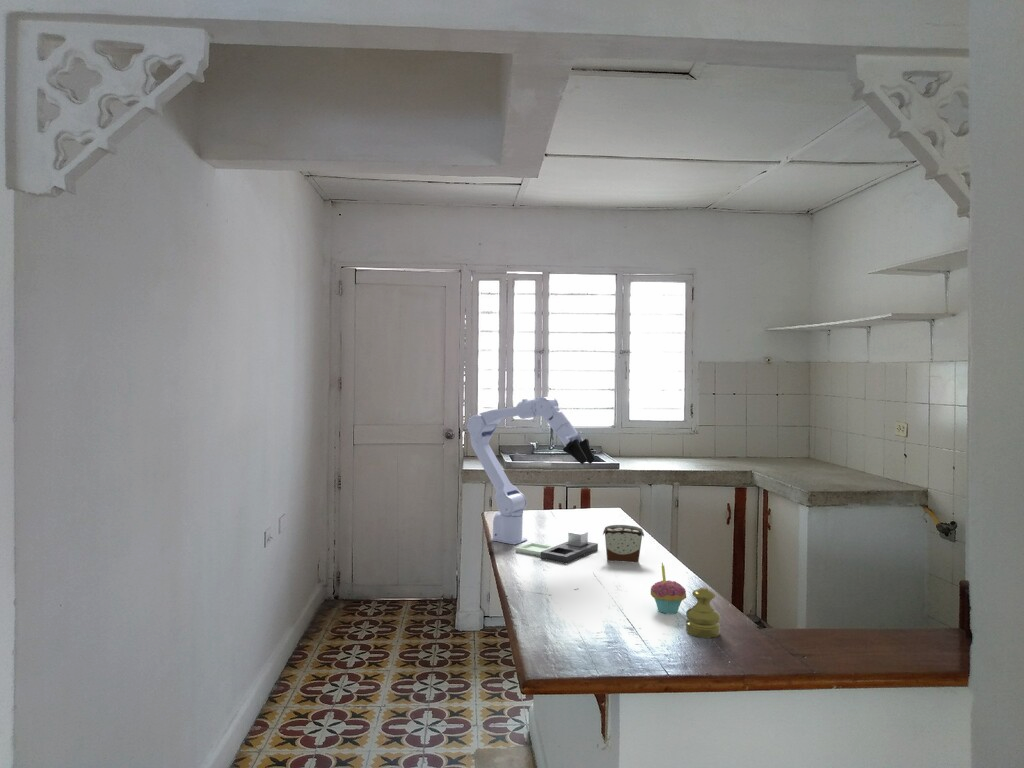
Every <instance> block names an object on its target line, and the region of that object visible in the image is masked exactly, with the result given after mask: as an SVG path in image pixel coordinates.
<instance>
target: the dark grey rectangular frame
mask: <svg viewBox="0 0 1024 768" xmlns="http://www.w3.org/2000/svg"><path fill="white" fill-rule="evenodd" d="M598 548H599V543H597V542H596V543H595V542H591V541H590V542H589V541H588V545H587V546H585V547H582V548H579V547H574V546H569V545H568V541H565V542H562V543H560V544H557V545H555V547H552V548H550V549H547V550H544V551H542V552H541V557H540V559H541V558H543V559H542V560H546V559H547V561H551V562H556V561H557V562H556V563H561V562H562V563H561V564H566V563H567V564H569V563H571V562H573V561H576V560H578V559H581V558H582V557H585V556H587V555H589V553H590V554H592V553H594V552H596V551H598V550H599V549H598ZM568 562H569V563H568Z"/></svg>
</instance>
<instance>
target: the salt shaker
mask: <svg viewBox="0 0 1024 768" xmlns="http://www.w3.org/2000/svg"><path fill="white" fill-rule="evenodd" d="M692 596H693V597H694V598H695V599H696V601H697V602H696V604H694V605H693V606H692V607H690V608H688V609H687V610H686V612H685V613H686V614H685V615H686V618H687V619H686V621H685V631H686V632H687V633H688V634H689V635H690V636H693V635H694V636H693V637H696V636H697V638H700V637H705V638H704V639H712V638H711V637H714V638H717V637H719V636H720V634H721V624H720V623H719V622H720V621H721V617H722V616H721V614H720V613H719V612H718V610H715V608H714V606H712V605H711V603H710V602H711V601H712V600H713V599H715V598H716V593H715V592H714V591H712V590H711V589H709V588H708V587H703V586H702V587H699V588H696V589H695V590H693V591H692Z"/></svg>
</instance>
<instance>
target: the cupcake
mask: <svg viewBox="0 0 1024 768" xmlns="http://www.w3.org/2000/svg"><path fill="white" fill-rule="evenodd" d="M665 570H666V569H665V565H664V564H663V562H661V575H662V580H660V581H657V582H655V583H654V584H653V585H651V587H650V595H651V597H652V598H653V599H654V601H655V603H656V607H657V608H656V609H657V610H659V611H658V612H660V613H662V612H663V614H666V613H669V615H673V614H677V613H678V612H679V609H680V606H681V604H682V601H684V600H686V598H687V590H686V588H685V587H684V586H683V585H681V584H680V583H679V582H677V581H676V580H675V581H674V580H673V581H672V580H666V579H667V578H666V571H665Z"/></svg>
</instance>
